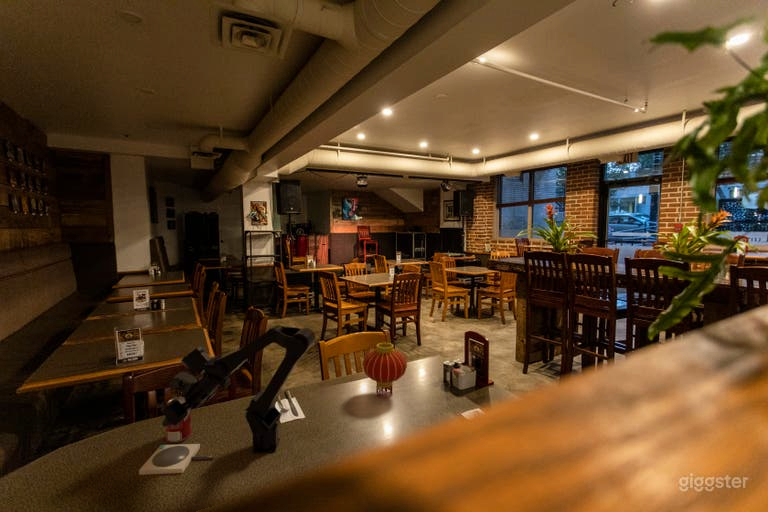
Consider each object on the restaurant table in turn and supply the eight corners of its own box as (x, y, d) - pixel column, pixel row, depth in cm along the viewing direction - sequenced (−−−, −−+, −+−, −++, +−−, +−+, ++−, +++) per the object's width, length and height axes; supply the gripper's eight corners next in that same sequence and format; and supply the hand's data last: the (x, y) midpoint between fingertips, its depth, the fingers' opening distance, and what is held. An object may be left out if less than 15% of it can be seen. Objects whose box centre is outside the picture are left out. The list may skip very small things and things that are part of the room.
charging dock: (220, 446, 108) (220, 442, 108) (205, 471, 97) (205, 466, 97) (161, 448, 107) (161, 444, 107) (139, 474, 96) (139, 469, 96)
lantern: (407, 406, 134) (409, 326, 132) (360, 405, 134) (361, 326, 132) (405, 385, 151) (406, 315, 148) (363, 384, 151) (364, 314, 149)
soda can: (180, 445, 109) (178, 407, 108) (161, 442, 110) (159, 404, 109) (196, 433, 115) (195, 396, 114) (177, 430, 117) (176, 394, 115)
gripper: (207, 354, 119) (177, 384, 122) (166, 378, 101) (132, 413, 103) (230, 379, 119) (199, 409, 121) (193, 408, 100) (158, 442, 103)
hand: (174, 417), depth 112 cm, fingers open, 9 cm apart
